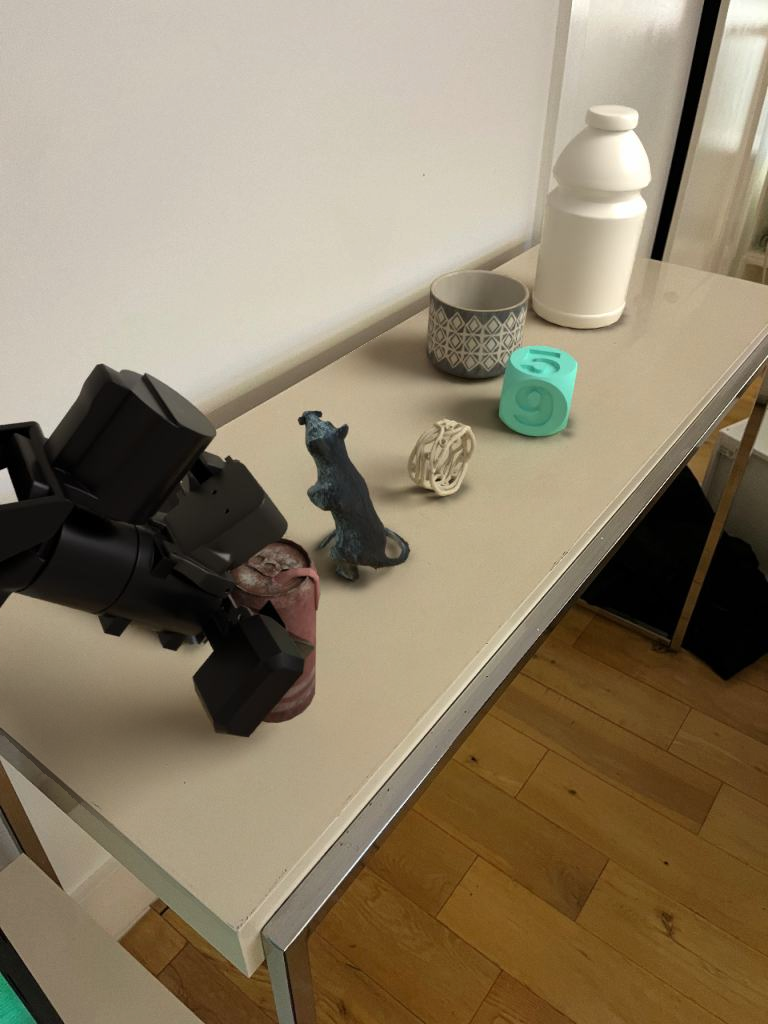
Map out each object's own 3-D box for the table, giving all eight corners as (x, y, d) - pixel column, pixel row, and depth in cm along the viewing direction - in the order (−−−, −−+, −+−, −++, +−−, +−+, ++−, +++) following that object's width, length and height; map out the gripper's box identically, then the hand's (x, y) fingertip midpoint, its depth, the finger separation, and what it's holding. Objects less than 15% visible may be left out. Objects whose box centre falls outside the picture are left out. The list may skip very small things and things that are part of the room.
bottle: (523, 322, 116) (552, 117, 98) (536, 285, 126) (565, 93, 108) (619, 336, 113) (667, 127, 95) (625, 297, 123) (670, 102, 105)
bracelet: (476, 476, 87) (483, 415, 81) (434, 511, 82) (439, 449, 77) (447, 462, 88) (452, 402, 83) (404, 496, 84) (407, 434, 79)
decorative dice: (568, 407, 98) (580, 349, 93) (563, 441, 92) (574, 382, 87) (505, 397, 99) (513, 340, 94) (496, 431, 93) (503, 372, 88)
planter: (506, 393, 100) (516, 318, 94) (413, 374, 104) (417, 300, 97) (527, 349, 109) (538, 278, 103) (441, 333, 113) (446, 263, 106)
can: (316, 728, 58) (318, 600, 48) (230, 725, 57) (215, 596, 48) (320, 662, 62) (323, 534, 53) (241, 659, 62) (229, 530, 53)
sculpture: (343, 511, 82) (340, 386, 72) (425, 556, 76) (433, 429, 67) (287, 552, 77) (275, 425, 67) (370, 604, 71) (370, 474, 62)
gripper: (257, 556, 36) (438, 630, 48) (140, 378, 49) (306, 470, 60) (120, 725, 38) (326, 757, 50) (42, 512, 51) (221, 577, 62)
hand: (294, 626), depth 55 cm, fingers closed on can, 5 cm apart
